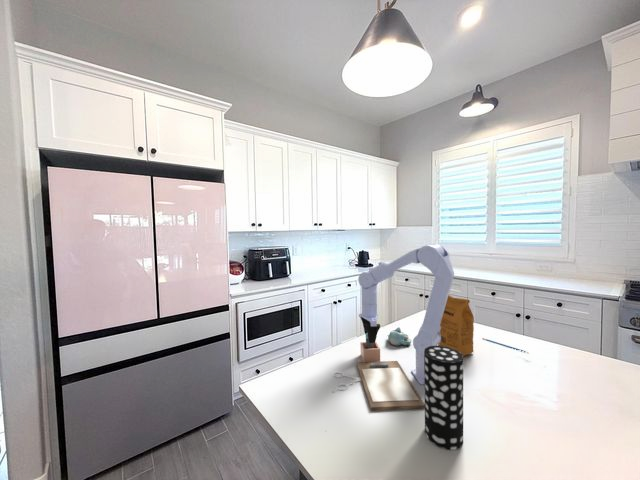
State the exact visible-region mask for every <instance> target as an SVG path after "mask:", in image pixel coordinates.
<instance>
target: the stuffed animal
mask: <svg viewBox="0 0 640 480" xmlns="http://www.w3.org/2000/svg"><path fill="white" fill-rule="evenodd" d="M387 337H388V338H387V339H388V341H389V342H390V344H391V345H393V346H400V345H404V346H410V344H411V343H412V339H411V338H409V334H408V333H404V332H403V331H402V330H401V327H400V326H399V327H397V328H395V329H393V330H392V331H390V332H389V334H388V335H387Z"/></svg>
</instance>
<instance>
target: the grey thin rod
mask: <svg viewBox="0 0 640 480" xmlns="http://www.w3.org/2000/svg"><path fill="white" fill-rule="evenodd" d="M481 339H482V340H483V341H487V342H490V343H493V344H497V345H500V346H503V347H505V348H509V349H512V348H513V349H512V350H515V349H516V350H515V351H518V350H521V351H520V352H522V351H524V352H523V353H525V352H527V353H526V354H529V352H528V351H526V350H522V349H519V348H517V347H513V346H510V345H506V344H503V343H500V342H497V341H494V340H492V339H487V338H484V337H482V338H481Z"/></svg>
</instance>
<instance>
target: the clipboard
mask: <svg viewBox="0 0 640 480" xmlns="http://www.w3.org/2000/svg"><path fill="white" fill-rule="evenodd" d="M356 368H357V370H358V374H359V378H361V380H362V381H361V382H362V385H363V389H364V392H365V395H366V399H367V403H368V406H369V408H370V411H371V412H374V411H375V412H376V411H377V412H378V411H380V412H381V411H397V410H399V411H400V410H402V411H403V410H416V409H417V410H421V409H422V410H423V409H424V410H425V401H424V400H423V399H422V398H421V395H419V393H418V391H417V390H416V388H415V386H414V384H413V383H412V382H411V380H410V378H409V376H408V375H407V374H406V372H405V371H404V369H403V368H402V366H401V364H400V363H399V360H389V361H386V360H385V361H384V360H383V361H381V360H380V362H363V361H360V362H357V361H356Z"/></svg>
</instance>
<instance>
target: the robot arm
mask: <svg viewBox="0 0 640 480" xmlns="http://www.w3.org/2000/svg"><path fill="white" fill-rule="evenodd" d="M412 263H414V264H421V265H422V266H424V267H425V268H427V269H428V270H429V271H430V272H431V274H433V276H434V280H433V284H432V287H431V288H432V289H431V293H430V296H429V300H428V304H427V306H426V310H425V314H424V318H423V322H422V323H421V326H420V328H419V330H418V333H417V335H416V336H415V337H414V338H413V339H412V346H413V348H414V350H415V369H411V373H412V374H413V376H414V377H415V379H416V380H417V381H418V384H420V385H424V350H425V348H427V347H429V346H438V344H439V343H440V341H441V335H440V330H441V327H440V323H441V320H442V316H443V313H444V309H445V306H446V302H447V299H448V295H450V291H451V287H452V284H453V280H454V277H455V271H454V269H453V265H452V262H451V259H450V253H449V252H448V250H447V249H446V248H445V247H444V246H443V245H441V244H439V243H433V244H429V245H423V246H421V247H418V248H416V249H413V250H410V251H408V252H407V253H405V254H404V255H402V256H400V257H398V258H397V259H395V260H393V261H391V262H388V261H380V262H378V265H376V266H374V267H370V268H368V270H367V271H362V272H361V273H360V274H359V275H358V279H357V280H358V284H359V285H360V288H361V293H360V294H361V313H358V317H359V318H360V319H361V322H362V326H363V331H364V335H366V333H367V334H368V340H369V343H375V342H377V341H376V340H377V337H378V336H377V335H378V332H379V331H380V328H381V324H380V323H378V321H377V320H378V316H379V315H378V296H377V293H378V292H377V288H378V284H379V283H381V282H383V281H386V280H388V279H389V278H392V277H393V276H394V275H395V272H396V271H398V270H400V269H402V268H405V267H406V266H408V265H410V264H412Z"/></svg>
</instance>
